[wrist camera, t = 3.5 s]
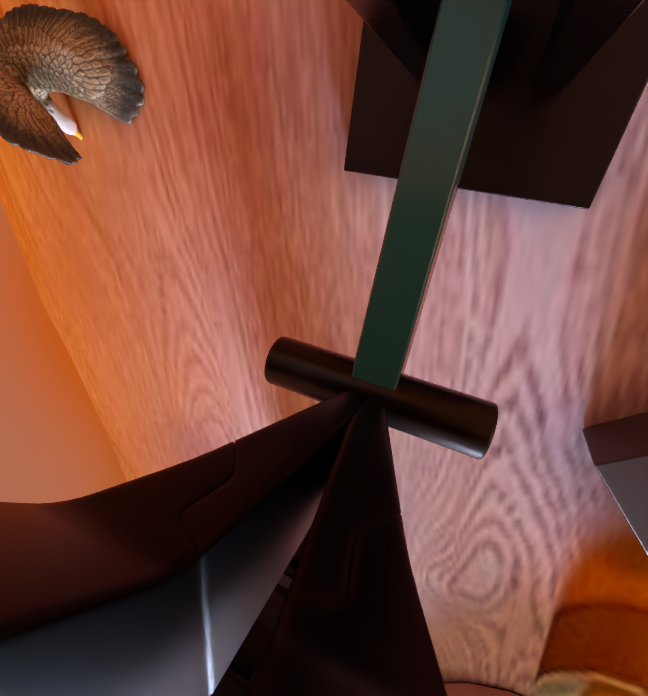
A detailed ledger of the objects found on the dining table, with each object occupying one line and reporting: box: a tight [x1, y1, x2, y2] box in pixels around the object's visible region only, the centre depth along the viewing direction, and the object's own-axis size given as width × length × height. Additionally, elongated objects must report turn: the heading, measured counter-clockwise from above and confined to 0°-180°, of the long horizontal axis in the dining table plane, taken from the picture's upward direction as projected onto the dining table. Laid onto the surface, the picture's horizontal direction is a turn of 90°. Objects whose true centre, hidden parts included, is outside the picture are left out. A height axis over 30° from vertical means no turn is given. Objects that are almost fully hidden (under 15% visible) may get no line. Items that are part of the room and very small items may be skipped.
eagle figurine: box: [0, 4, 145, 165], centre depth 17 cm, size 8×7×9 cm
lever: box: [265, 0, 512, 459], centre depth 7 cm, size 12×6×2 cm, turn 173°
